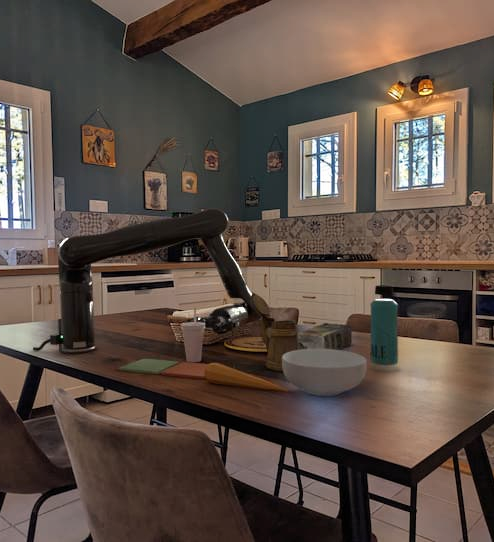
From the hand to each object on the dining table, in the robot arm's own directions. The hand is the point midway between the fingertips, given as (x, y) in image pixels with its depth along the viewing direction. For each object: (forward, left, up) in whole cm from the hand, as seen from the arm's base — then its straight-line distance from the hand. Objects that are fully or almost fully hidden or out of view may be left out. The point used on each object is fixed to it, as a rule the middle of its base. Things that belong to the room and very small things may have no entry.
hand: (201, 327), depth 137 cm
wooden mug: (+22, -3, -8) cm, 24 cm away
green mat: (-7, -15, -8) cm, 18 cm away
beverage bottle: (+47, +3, -8) cm, 48 cm away
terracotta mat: (+5, -15, -8) cm, 17 cm away
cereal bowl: (+38, -20, -8) cm, 44 cm away
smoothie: (0, -5, -8) cm, 9 cm away
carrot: (+22, -23, -8) cm, 33 cm away
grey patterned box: (+28, +21, -8) cm, 36 cm away
